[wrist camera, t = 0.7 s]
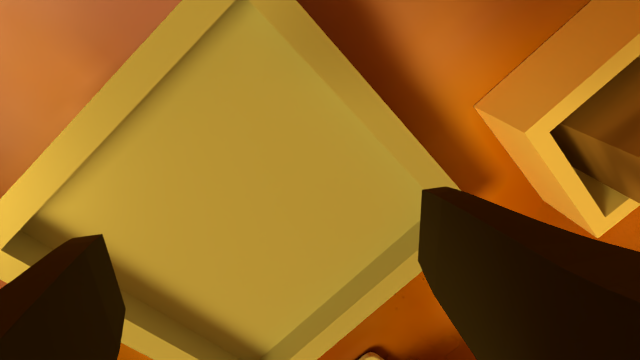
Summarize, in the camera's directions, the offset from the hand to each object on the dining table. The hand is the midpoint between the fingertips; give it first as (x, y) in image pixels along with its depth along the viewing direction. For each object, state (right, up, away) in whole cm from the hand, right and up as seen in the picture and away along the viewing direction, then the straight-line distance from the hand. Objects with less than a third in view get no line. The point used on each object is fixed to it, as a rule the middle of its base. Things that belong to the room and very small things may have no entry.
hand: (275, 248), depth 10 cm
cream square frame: (-2, 0, +11) cm, 11 cm away
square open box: (+14, +5, +12) cm, 19 cm away
